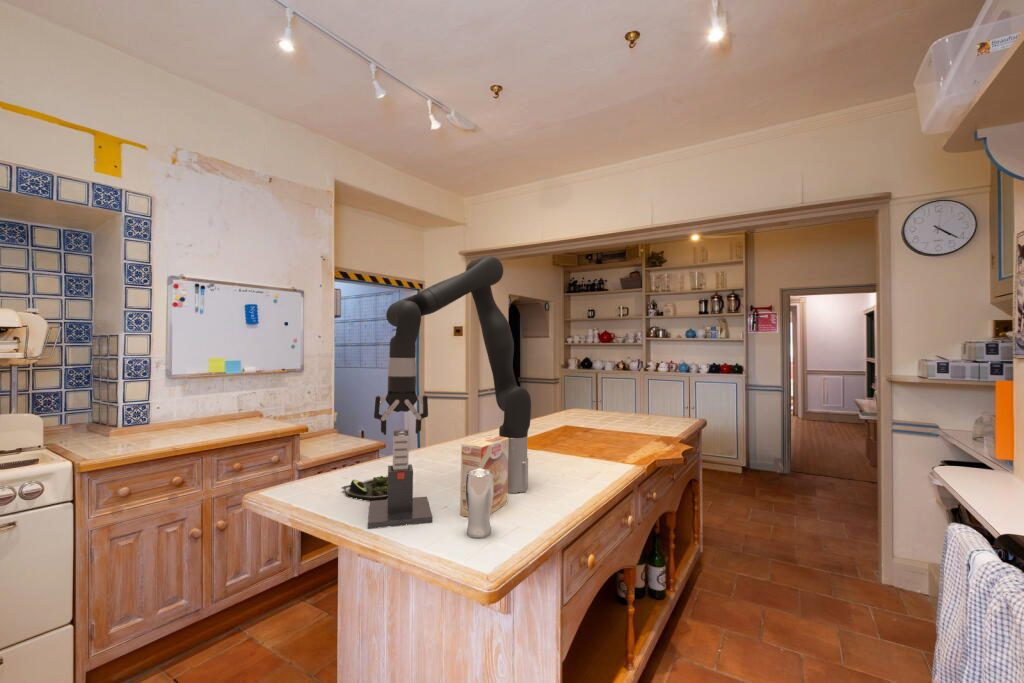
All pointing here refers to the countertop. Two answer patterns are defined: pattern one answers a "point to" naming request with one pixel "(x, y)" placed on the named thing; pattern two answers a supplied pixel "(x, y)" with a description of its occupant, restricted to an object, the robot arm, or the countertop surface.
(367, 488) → the salad plate
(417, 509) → the stand
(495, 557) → the countertop surface
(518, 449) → the robot arm
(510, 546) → the countertop surface
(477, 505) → the beer glass
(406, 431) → the column
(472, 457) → the coffeecake box
